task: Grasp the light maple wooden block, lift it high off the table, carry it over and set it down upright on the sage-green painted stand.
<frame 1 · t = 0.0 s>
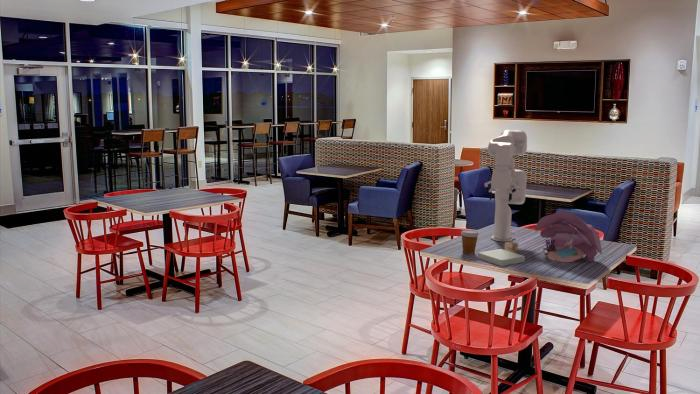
hand: (500, 200, 325), 31 cm above the table, tool pointing down, fingers open, 9 cm apart
purple clam shell: (566, 258, 334), on the table
disposable coffee cup: (468, 253, 340), on the table
sage stand: (500, 259, 327), on the table
maple block: (510, 253, 341), on the table
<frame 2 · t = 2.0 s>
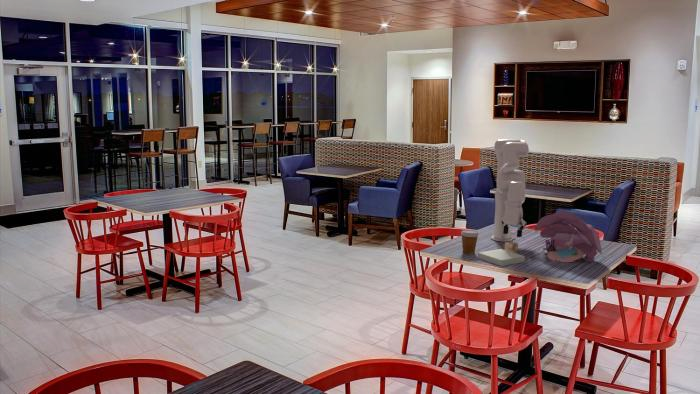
hand: (512, 235, 338), 10 cm above the table, tool pointing down, fingers open, 9 cm apart
nothing on the table moved.
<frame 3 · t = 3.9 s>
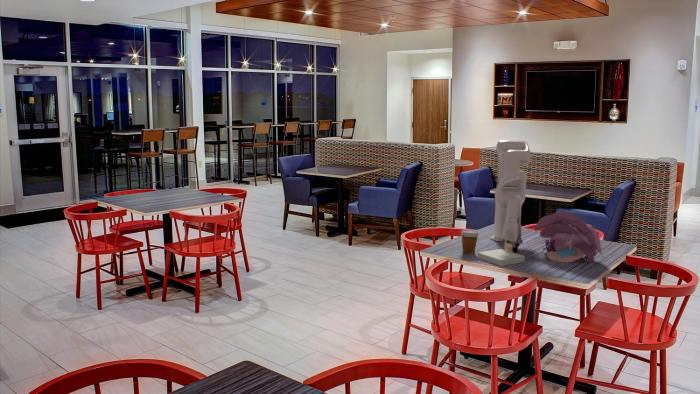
hand: (510, 252, 341), 1 cm above the table, tool pointing down, fingers closed on maple block, 5 cm apart
maple block: (510, 253, 341), on the table, touching gripper
everything else where it was.
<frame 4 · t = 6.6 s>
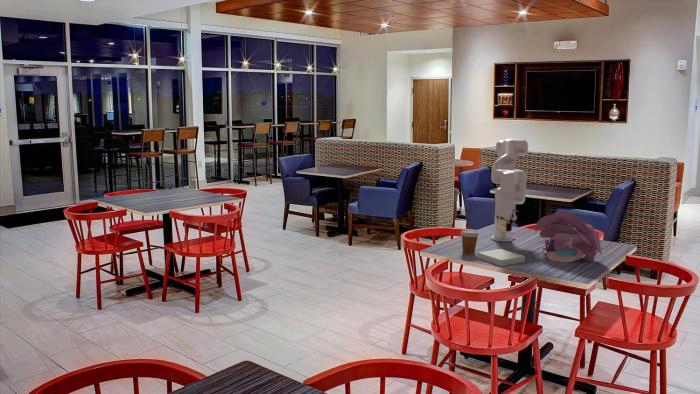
hand: (504, 229, 326), 16 cm above the table, tool pointing down, fingers closed on maple block, 4 cm apart
maple block: (504, 230, 326), point 15 cm above the table, touching gripper
everything else where it was.
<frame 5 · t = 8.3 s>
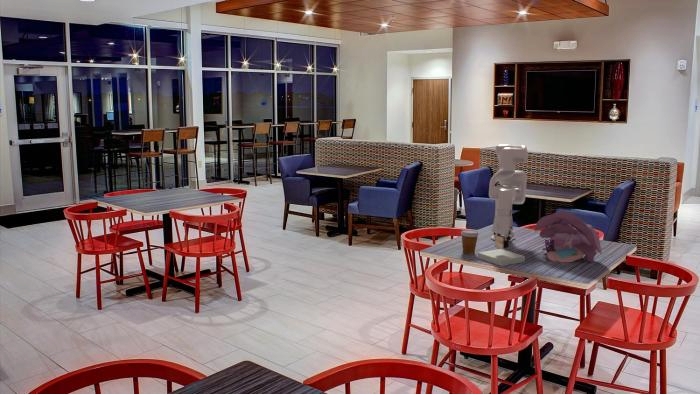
hand: (501, 246, 326), 7 cm above the table, tool pointing down, fingers closed on maple block, 4 cm apart
maple block: (501, 247, 326), point 7 cm above the table, touching gripper
everything else where it was.
when the fingers open (5 cm above the table, at t = 9.6 s): maple block drops 1 cm, resting on sage stand.
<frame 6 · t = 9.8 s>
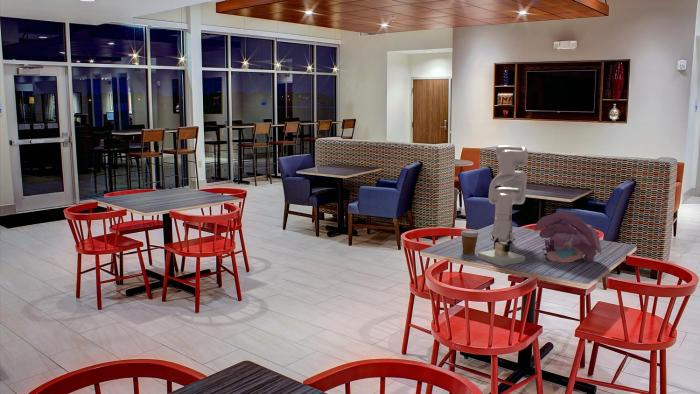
hand: (501, 249, 326), 5 cm above the table, tool pointing down, fingers open, 7 cm apart
maple block: (501, 254, 327), point 3 cm above the table, touching sage stand
everything else where it was.
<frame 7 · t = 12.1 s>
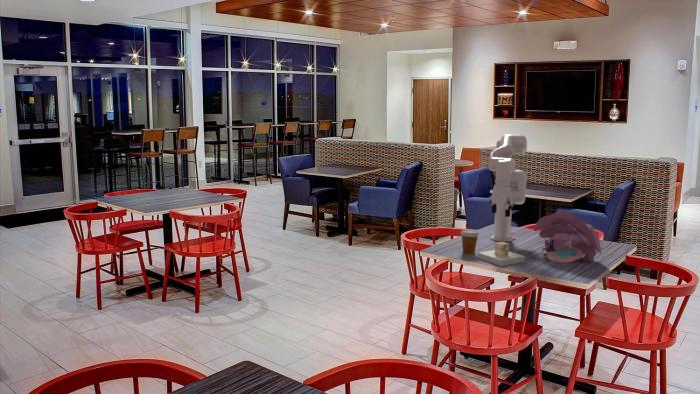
hand: (500, 214, 334), 22 cm above the table, tool pointing down, fingers open, 9 cm apart
nothing on the table moved.
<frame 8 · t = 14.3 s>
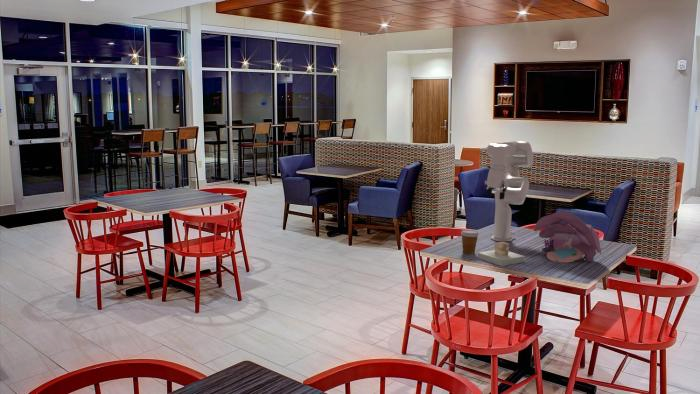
hand: (495, 197, 350), 28 cm above the table, tool pointing down, fingers open, 9 cm apart
nothing on the table moved.
at the end: maple block inside the target area on the sage stand (0.0 cm from its centre), point 3.0 cm above the sage stand's base; maple block tilted 0°; the gripper is holding nothing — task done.
